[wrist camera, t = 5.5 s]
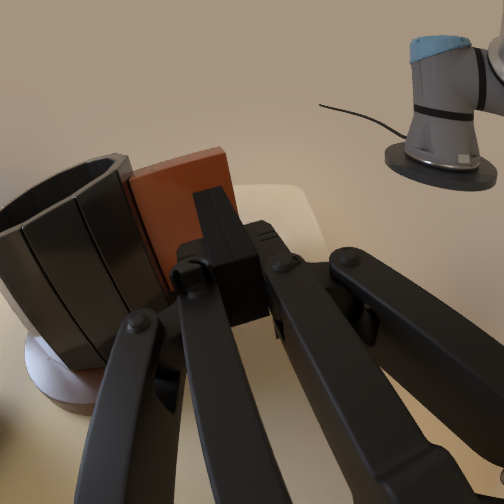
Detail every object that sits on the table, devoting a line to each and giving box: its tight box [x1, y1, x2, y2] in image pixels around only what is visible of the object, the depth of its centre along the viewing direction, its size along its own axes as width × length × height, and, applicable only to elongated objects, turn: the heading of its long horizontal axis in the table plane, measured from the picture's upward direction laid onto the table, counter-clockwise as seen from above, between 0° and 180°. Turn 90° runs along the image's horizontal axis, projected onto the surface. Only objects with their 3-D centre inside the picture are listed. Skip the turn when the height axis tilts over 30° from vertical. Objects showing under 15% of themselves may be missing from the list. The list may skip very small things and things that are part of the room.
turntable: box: [25, 291, 187, 416], centre depth 20 cm, size 16×16×2 cm
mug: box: [0, 147, 239, 370], centre depth 17 cm, size 12×15×10 cm
